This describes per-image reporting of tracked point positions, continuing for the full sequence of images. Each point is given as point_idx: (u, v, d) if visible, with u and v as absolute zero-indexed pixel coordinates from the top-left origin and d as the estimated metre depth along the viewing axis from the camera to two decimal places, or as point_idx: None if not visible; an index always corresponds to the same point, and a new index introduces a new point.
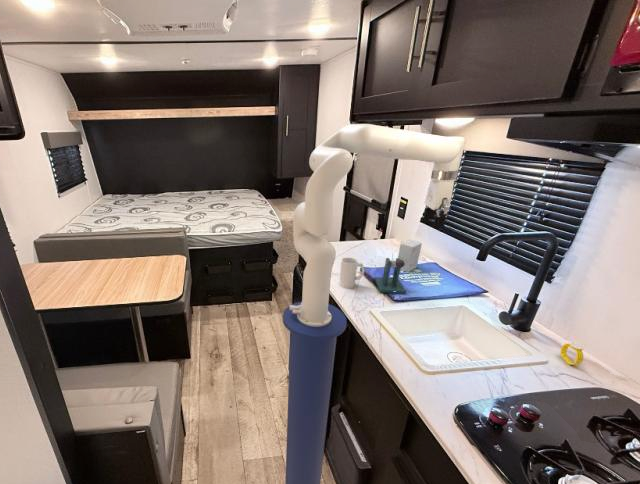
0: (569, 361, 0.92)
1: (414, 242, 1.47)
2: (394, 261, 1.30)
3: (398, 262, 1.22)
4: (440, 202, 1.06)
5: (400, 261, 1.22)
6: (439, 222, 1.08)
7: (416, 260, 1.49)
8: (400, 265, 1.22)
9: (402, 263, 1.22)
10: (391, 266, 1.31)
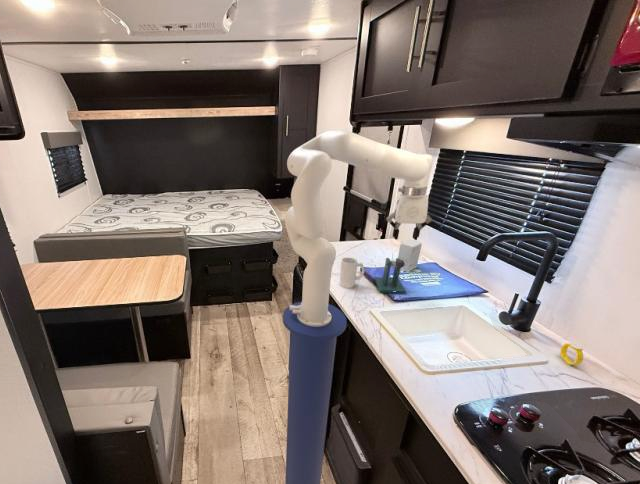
0: (569, 361, 0.92)
1: (414, 242, 1.47)
2: (394, 261, 1.30)
3: (398, 262, 1.22)
4: None
5: (400, 261, 1.22)
6: None
7: (416, 260, 1.49)
8: (400, 265, 1.22)
9: (402, 263, 1.22)
10: (391, 266, 1.31)
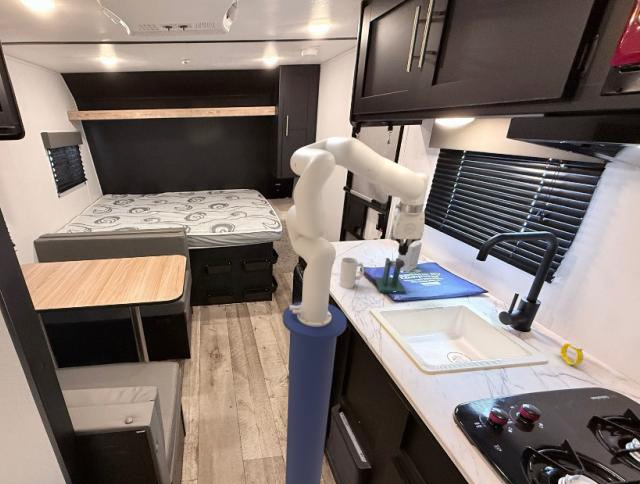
0: (569, 361, 0.92)
1: (414, 242, 1.47)
2: (394, 261, 1.30)
3: (398, 262, 1.22)
4: None
5: (400, 261, 1.22)
6: None
7: (416, 260, 1.49)
8: (400, 265, 1.22)
9: (402, 263, 1.22)
10: (391, 266, 1.31)
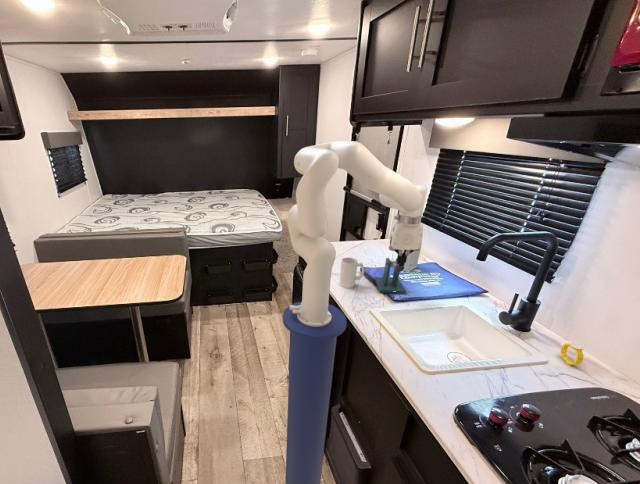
0: (569, 361, 0.92)
1: None
2: (394, 262, 1.30)
3: (398, 267, 1.22)
4: None
5: (400, 266, 1.22)
6: None
7: (416, 260, 1.49)
8: (400, 270, 1.22)
9: (402, 267, 1.22)
10: None
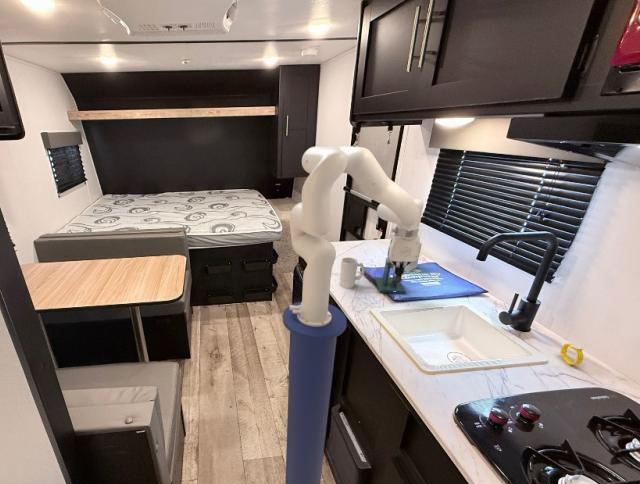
0: (569, 361, 0.92)
1: None
2: None
3: (395, 280, 1.25)
4: None
5: (398, 279, 1.24)
6: None
7: None
8: (397, 282, 1.25)
9: (399, 281, 1.24)
10: None
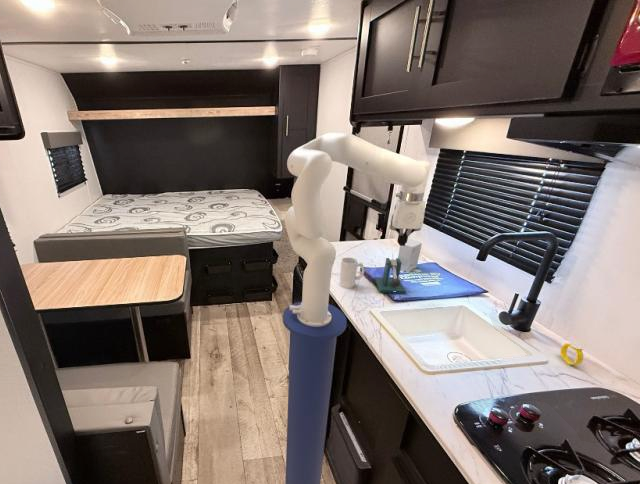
0: (569, 361, 0.92)
1: (414, 242, 1.47)
2: (394, 265, 1.30)
3: (394, 283, 1.26)
4: None
5: (396, 283, 1.26)
6: None
7: (416, 260, 1.49)
8: None
9: (398, 285, 1.26)
10: None
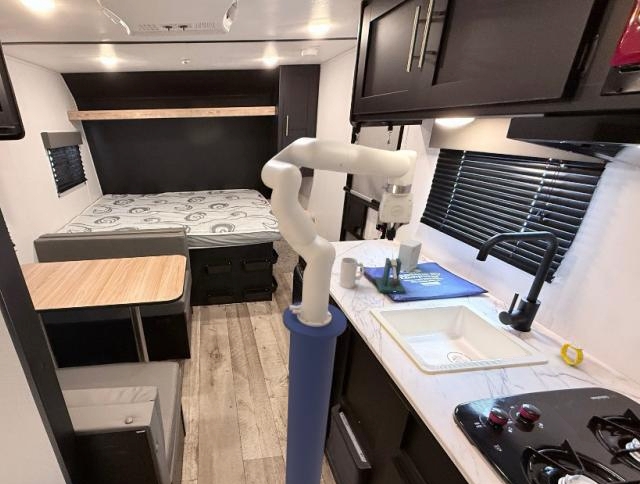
0: (569, 361, 0.92)
1: (414, 242, 1.47)
2: (394, 265, 1.30)
3: (394, 283, 1.26)
4: None
5: (396, 283, 1.26)
6: None
7: (416, 260, 1.49)
8: None
9: (398, 285, 1.26)
10: None
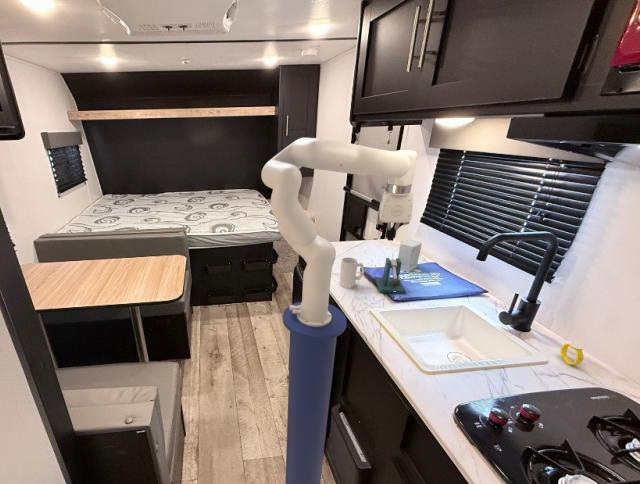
0: (569, 361, 0.92)
1: (414, 242, 1.47)
2: (394, 265, 1.30)
3: (394, 283, 1.26)
4: None
5: (396, 283, 1.26)
6: None
7: (416, 260, 1.49)
8: None
9: (398, 285, 1.26)
10: None
